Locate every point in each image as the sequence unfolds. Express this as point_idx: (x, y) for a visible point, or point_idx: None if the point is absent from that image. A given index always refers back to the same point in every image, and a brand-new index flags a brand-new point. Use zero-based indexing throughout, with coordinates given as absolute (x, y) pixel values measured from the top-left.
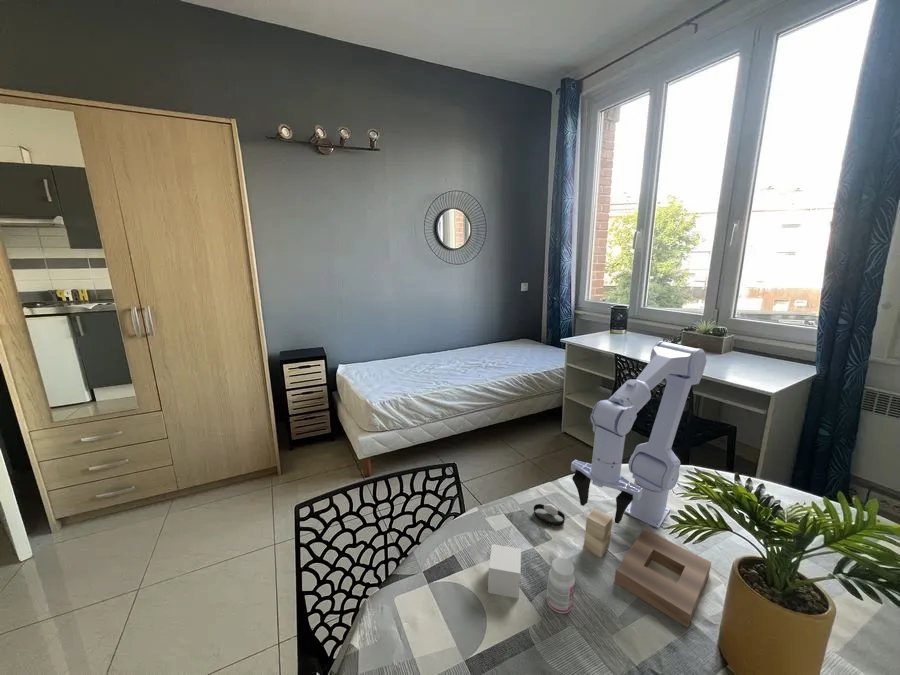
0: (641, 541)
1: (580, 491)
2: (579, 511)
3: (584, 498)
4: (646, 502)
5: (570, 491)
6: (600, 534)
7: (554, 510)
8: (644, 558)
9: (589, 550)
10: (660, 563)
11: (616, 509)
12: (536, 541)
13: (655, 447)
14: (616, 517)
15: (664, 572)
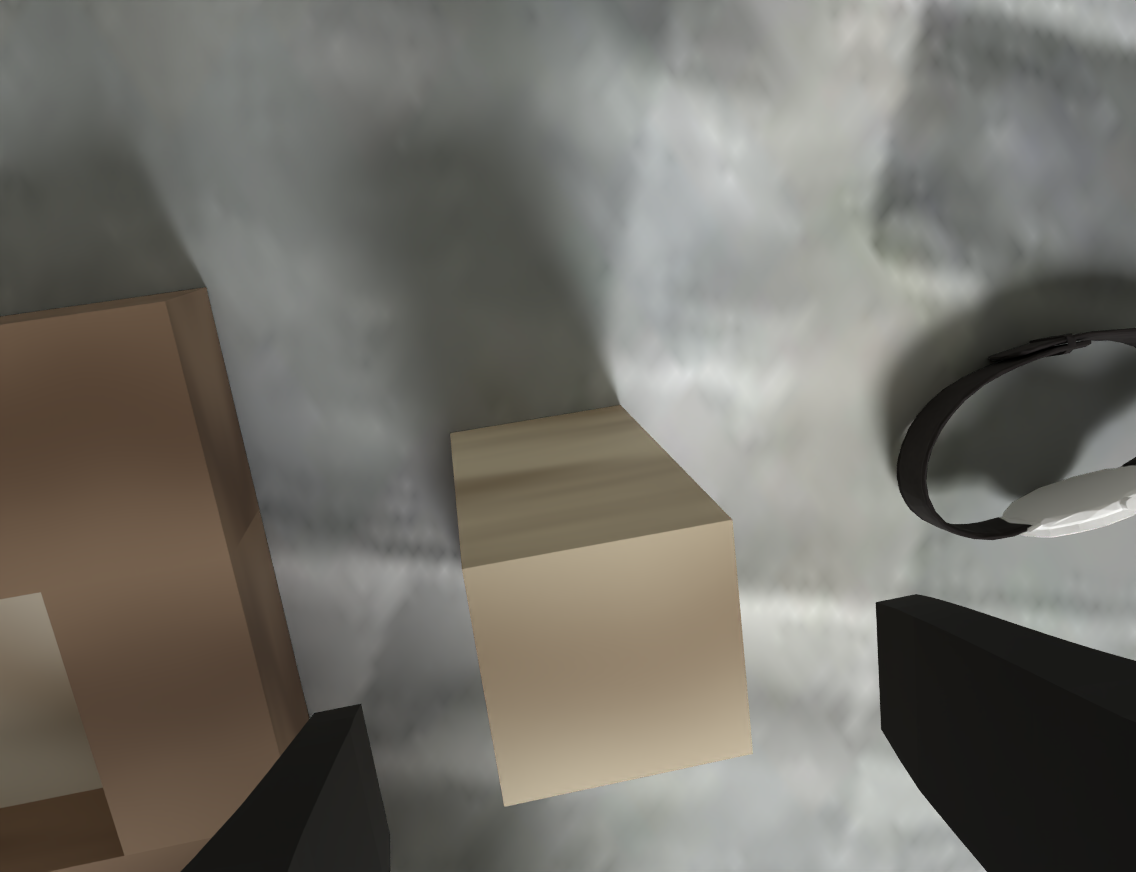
0: None
1: (1133, 689)
2: (883, 734)
3: (952, 693)
4: None
5: None
6: (496, 504)
7: (1053, 508)
8: (97, 684)
9: (562, 416)
10: (81, 798)
11: (281, 868)
12: (947, 82)
13: None
14: (312, 761)
15: (12, 745)
